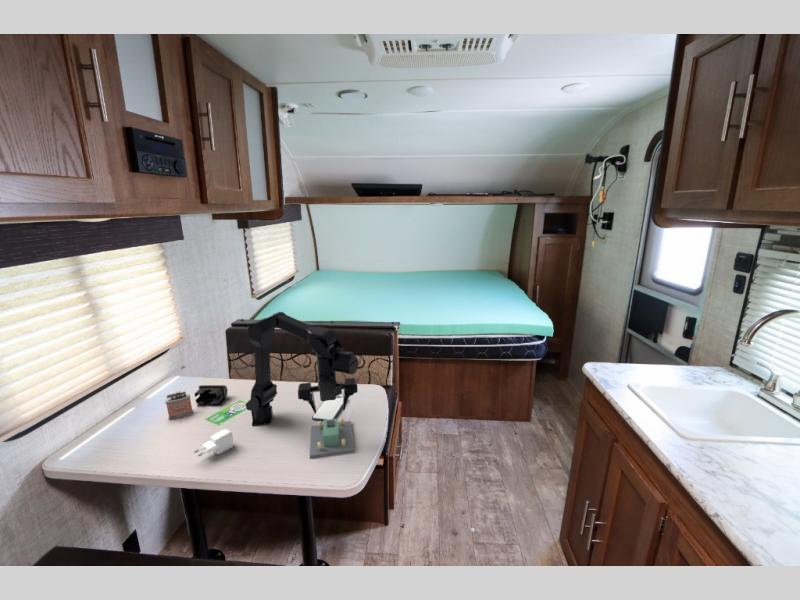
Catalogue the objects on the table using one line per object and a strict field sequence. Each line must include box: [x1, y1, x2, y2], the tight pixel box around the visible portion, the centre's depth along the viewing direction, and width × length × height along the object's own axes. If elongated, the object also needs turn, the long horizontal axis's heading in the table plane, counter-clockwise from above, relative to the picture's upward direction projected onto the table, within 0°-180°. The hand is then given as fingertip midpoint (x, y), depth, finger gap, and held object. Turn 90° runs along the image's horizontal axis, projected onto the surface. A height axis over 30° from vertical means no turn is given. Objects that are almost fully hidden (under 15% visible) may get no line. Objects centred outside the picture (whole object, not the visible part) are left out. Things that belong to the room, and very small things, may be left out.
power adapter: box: [193, 428, 235, 457], centre depth 117 cm, size 11×5×6 cm, turn 143°
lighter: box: [164, 390, 194, 421], centre depth 138 cm, size 8×3×10 cm, turn 123°
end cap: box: [194, 384, 228, 407], centre depth 147 cm, size 10×7×7 cm
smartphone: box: [311, 396, 343, 423], centre depth 142 cm, size 9×2×16 cm
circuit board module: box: [322, 417, 340, 447], centre depth 123 cm, size 5×9×4 cm, turn 11°
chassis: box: [309, 417, 355, 459], centre depth 124 cm, size 14×16×4 cm
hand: (329, 411), depth 121 cm, fingers open, 9 cm apart
